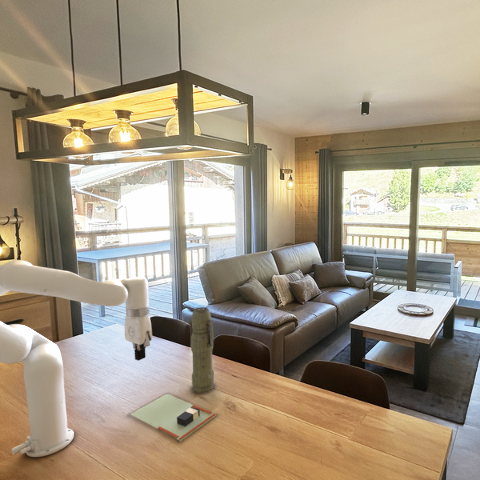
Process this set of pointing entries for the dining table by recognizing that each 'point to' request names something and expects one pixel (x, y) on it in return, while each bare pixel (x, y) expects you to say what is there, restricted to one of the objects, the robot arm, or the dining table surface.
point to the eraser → (188, 416)
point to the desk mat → (171, 416)
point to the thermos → (202, 349)
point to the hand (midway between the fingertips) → (140, 358)
